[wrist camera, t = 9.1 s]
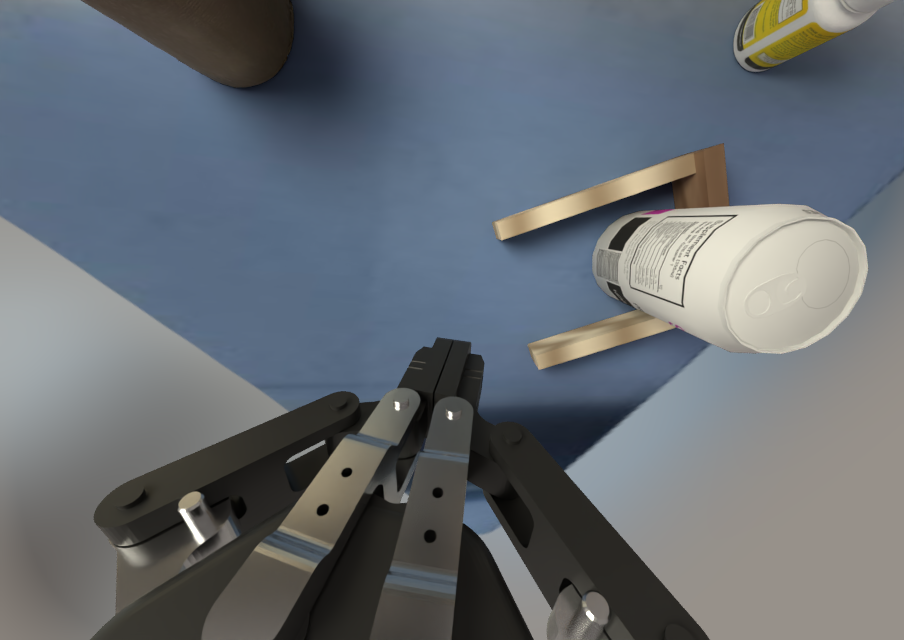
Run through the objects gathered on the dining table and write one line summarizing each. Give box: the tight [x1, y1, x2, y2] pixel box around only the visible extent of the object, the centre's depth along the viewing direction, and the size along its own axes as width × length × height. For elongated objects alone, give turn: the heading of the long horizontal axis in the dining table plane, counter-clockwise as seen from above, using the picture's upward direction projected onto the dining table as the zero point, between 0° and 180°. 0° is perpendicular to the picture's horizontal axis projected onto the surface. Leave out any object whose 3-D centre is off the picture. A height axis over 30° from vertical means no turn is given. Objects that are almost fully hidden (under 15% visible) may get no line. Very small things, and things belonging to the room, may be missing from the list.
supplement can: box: [592, 204, 868, 354], centre depth 23 cm, size 8×8×15 cm
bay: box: [492, 143, 729, 370], centre depth 29 cm, size 18×14×4 cm
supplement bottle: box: [733, 0, 895, 72], centre depth 22 cm, size 5×5×8 cm
